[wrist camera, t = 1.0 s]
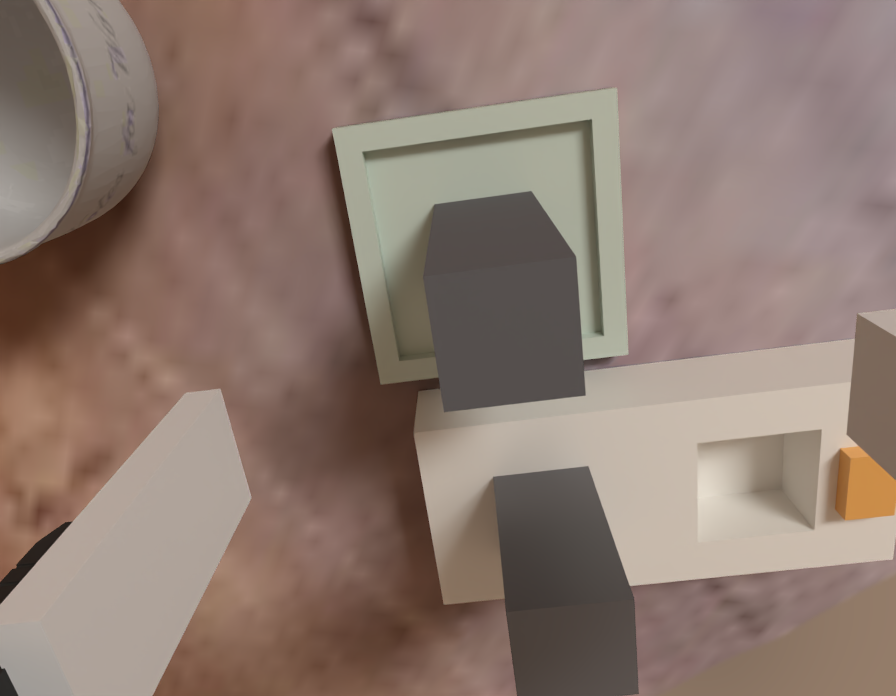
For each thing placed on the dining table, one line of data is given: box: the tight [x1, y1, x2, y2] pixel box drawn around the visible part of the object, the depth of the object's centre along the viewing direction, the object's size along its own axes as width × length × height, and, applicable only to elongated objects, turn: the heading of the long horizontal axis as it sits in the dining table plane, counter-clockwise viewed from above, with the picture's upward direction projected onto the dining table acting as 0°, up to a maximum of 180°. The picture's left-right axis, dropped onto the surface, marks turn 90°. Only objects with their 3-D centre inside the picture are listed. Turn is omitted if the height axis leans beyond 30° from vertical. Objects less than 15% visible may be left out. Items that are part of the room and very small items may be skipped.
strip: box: [414, 339, 896, 696], centre depth 27 cm, size 20×9×12 cm, turn 98°
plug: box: [423, 191, 586, 412], centre depth 23 cm, size 4×4×11 cm
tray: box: [332, 88, 628, 385], centre depth 28 cm, size 11×11×1 cm
